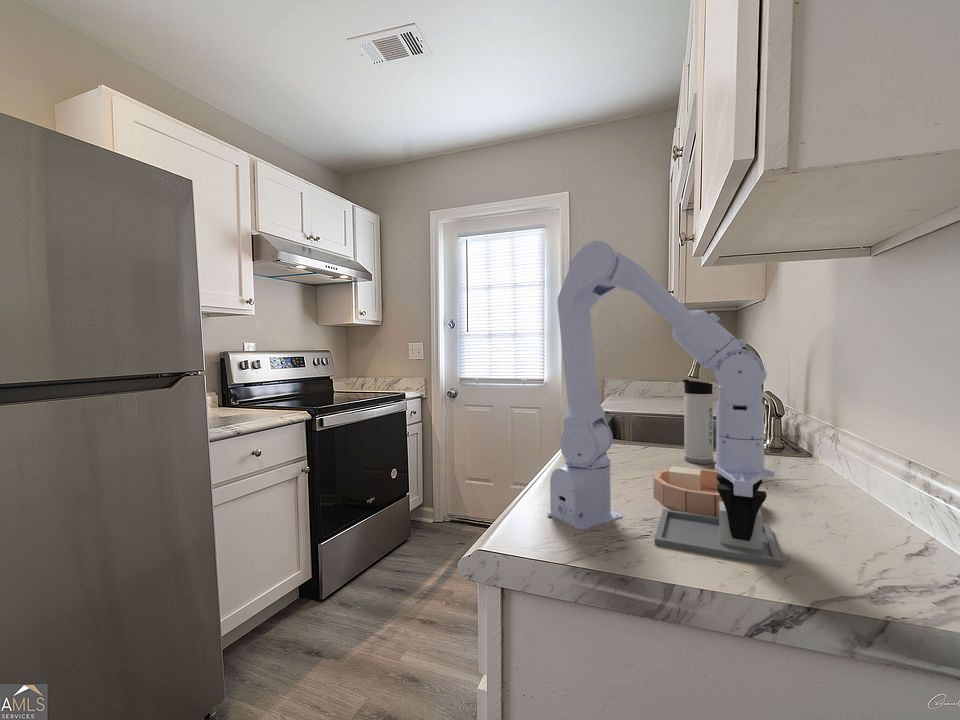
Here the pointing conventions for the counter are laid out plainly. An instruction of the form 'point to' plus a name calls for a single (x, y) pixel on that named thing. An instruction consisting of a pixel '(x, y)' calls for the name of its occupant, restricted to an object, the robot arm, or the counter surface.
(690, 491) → the bowl
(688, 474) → the cream block
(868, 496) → the counter surface
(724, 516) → the pale grey cube
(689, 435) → the travel mug
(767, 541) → the tray
